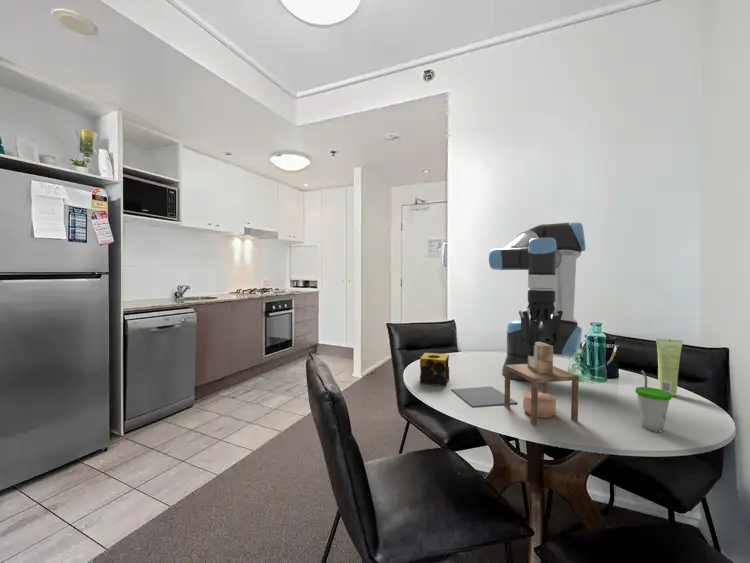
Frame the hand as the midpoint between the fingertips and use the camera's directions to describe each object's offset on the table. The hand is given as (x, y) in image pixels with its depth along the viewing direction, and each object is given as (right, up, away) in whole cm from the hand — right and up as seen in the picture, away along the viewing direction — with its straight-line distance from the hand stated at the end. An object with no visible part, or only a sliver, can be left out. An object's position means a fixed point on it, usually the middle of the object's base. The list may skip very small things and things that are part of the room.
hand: (539, 366), depth 104 cm
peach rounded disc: (0, -14, 0) cm, 14 cm away
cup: (+26, -15, -10) cm, 32 cm away
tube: (+54, -14, +17) cm, 58 cm away
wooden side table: (0, -14, 0) cm, 14 cm away
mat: (-13, -14, +14) cm, 24 cm away
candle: (-27, -14, +31) cm, 43 cm away
